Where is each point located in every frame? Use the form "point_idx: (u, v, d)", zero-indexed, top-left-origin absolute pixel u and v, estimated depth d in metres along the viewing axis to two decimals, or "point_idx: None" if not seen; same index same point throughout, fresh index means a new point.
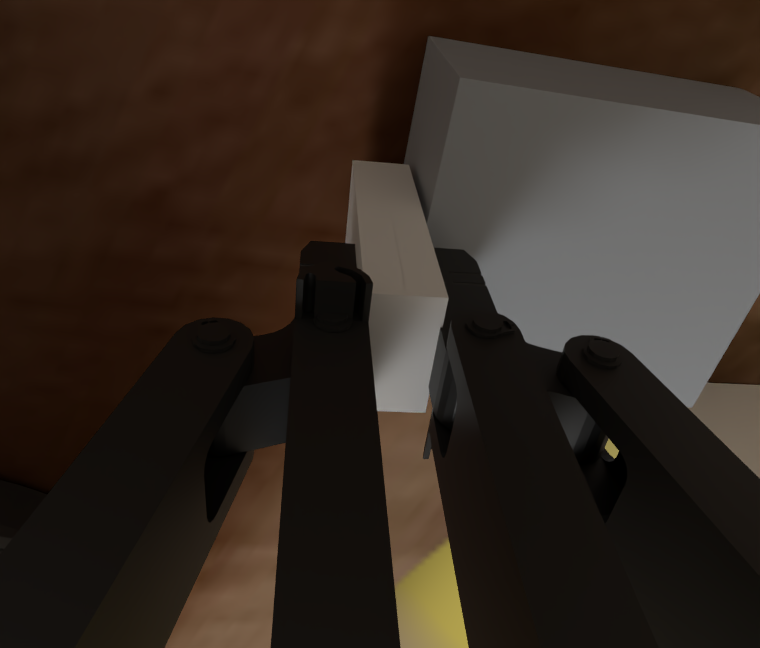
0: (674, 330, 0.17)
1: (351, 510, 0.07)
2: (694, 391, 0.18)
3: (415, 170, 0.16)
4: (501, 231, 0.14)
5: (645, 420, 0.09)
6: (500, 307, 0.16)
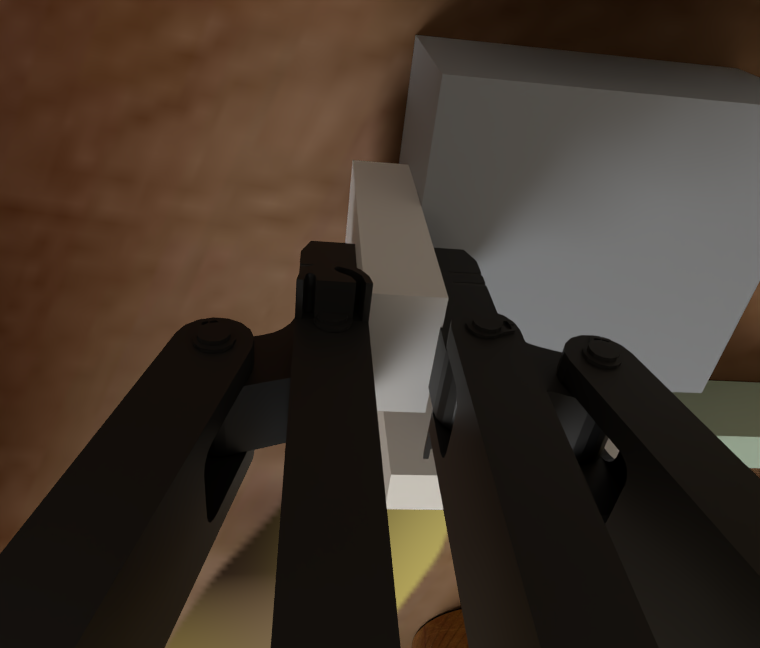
0: (677, 315, 0.16)
1: (351, 510, 0.07)
2: (702, 376, 0.18)
3: None
4: (495, 224, 0.14)
5: (645, 420, 0.09)
6: (499, 300, 0.16)
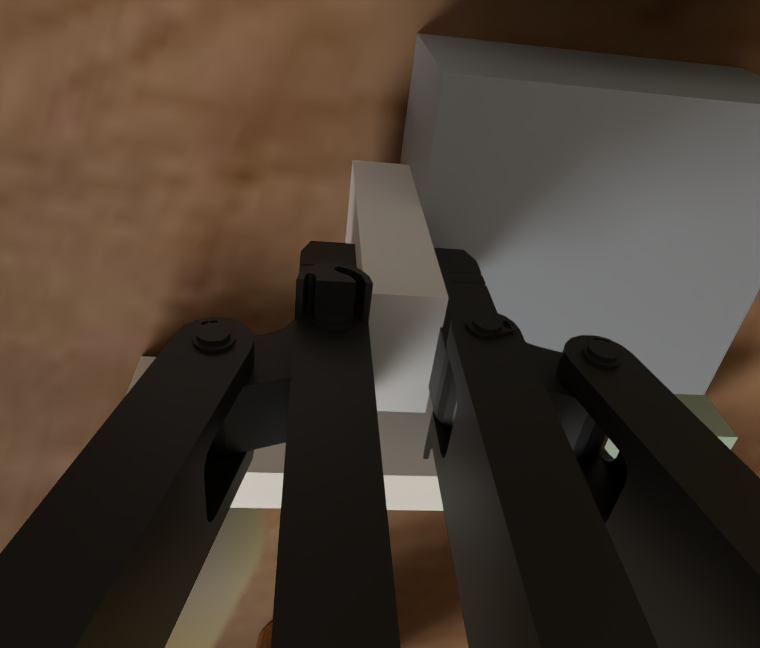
0: (680, 317, 0.16)
1: (351, 509, 0.07)
2: (705, 378, 0.18)
3: None
4: (496, 224, 0.14)
5: (645, 420, 0.09)
6: (500, 301, 0.16)
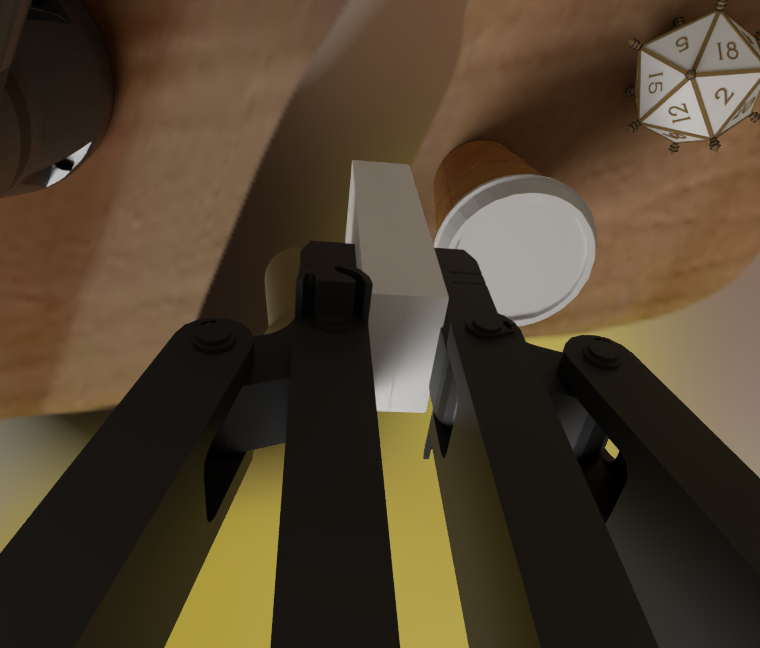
0: None
1: (352, 510, 0.07)
2: None
3: None
4: None
5: (645, 420, 0.09)
6: None
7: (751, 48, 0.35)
